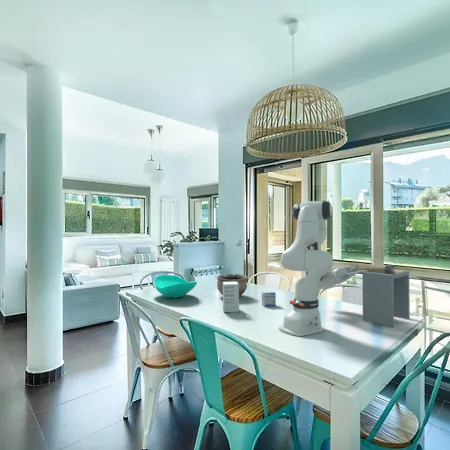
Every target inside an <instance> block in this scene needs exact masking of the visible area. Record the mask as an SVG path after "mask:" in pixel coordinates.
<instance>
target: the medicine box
mask: <svg viewBox="0 0 450 450" xmlns="http://www.w3.org/2000/svg"><path fill="white" fill-rule="evenodd" d="M276 293H277V292H275V291H261V306H263V307H265V308H270V307H276V305H277V304H276V303H277V301H276V296H277V295H276Z"/></svg>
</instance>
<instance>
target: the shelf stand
mask: <svg viewBox="0 0 450 450" xmlns="http://www.w3.org/2000/svg"><path fill="white" fill-rule="evenodd" d="M361 272H362V320H363V321H365V322H368V323H369V322H370V323H373V324H377V325H381V326H384V327H390V328H394V327H395V317H396V318H399V319H405V320H409V319H410V318H411V315H410V308H411V307H410V303H411V302H410V270H402V269H401V270H400V269H395V273H394V274H385V273H379V272H372V271H365V270H364V271H361Z"/></svg>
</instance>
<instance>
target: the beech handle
mask: <svg viewBox="0 0 450 450" xmlns="http://www.w3.org/2000/svg"><path fill="white" fill-rule="evenodd" d="M354 265H358V268H356V269H358V270H362V271H364V272H365V271H372V272H379V273H385V274H394V273H395V270H396V265H392V264H387V265H377V264H369V263H368V264H367V263H358V262H350V266H354Z"/></svg>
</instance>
